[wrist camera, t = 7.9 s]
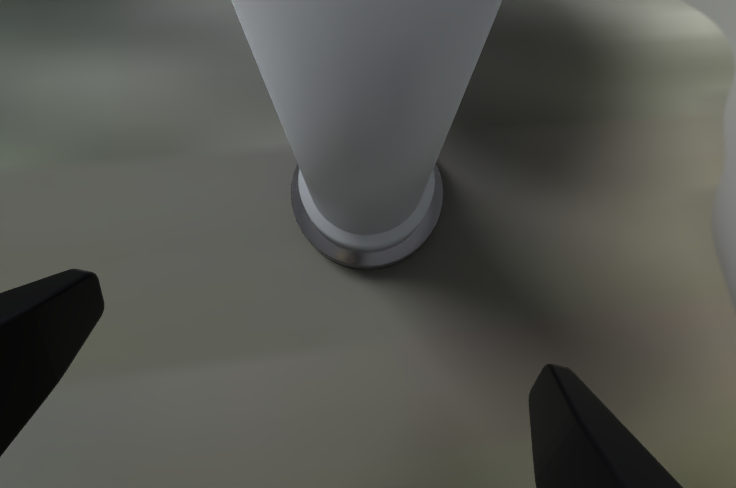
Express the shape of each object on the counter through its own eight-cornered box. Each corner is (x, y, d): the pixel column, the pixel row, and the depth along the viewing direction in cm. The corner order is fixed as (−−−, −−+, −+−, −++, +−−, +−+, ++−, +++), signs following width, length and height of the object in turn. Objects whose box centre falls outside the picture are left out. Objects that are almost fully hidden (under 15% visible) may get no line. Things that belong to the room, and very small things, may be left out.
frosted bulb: (442, 238, 17) (647, -16, 5) (316, 265, 17) (176, 73, 4) (412, 124, 19) (513, -332, 6) (294, 147, 18) (128, -276, 6)
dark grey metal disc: (435, 275, 18) (439, 272, 17) (286, 263, 18) (281, 259, 17) (442, 137, 19) (446, 127, 18) (303, 126, 20) (300, 115, 19)
